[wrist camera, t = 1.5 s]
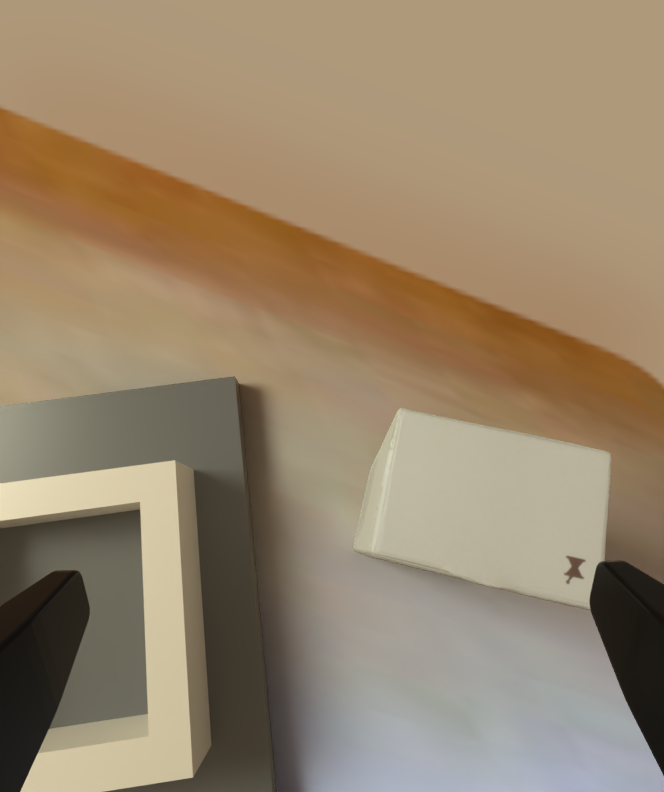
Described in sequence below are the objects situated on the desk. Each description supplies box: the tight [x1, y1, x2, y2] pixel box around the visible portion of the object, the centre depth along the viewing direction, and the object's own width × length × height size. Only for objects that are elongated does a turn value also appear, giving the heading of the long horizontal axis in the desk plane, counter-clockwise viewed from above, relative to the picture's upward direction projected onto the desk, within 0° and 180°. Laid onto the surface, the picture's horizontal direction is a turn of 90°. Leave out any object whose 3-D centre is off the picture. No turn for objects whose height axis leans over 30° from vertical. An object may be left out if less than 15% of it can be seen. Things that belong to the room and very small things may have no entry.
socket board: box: [0, 376, 277, 792], centre depth 22 cm, size 20×16×4 cm
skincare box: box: [353, 408, 612, 610], centre depth 19 cm, size 6×4×12 cm
